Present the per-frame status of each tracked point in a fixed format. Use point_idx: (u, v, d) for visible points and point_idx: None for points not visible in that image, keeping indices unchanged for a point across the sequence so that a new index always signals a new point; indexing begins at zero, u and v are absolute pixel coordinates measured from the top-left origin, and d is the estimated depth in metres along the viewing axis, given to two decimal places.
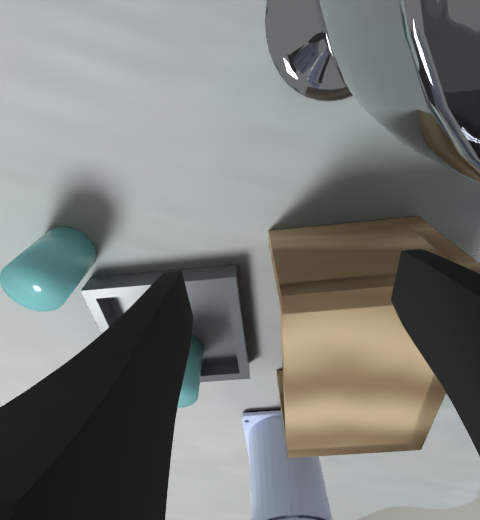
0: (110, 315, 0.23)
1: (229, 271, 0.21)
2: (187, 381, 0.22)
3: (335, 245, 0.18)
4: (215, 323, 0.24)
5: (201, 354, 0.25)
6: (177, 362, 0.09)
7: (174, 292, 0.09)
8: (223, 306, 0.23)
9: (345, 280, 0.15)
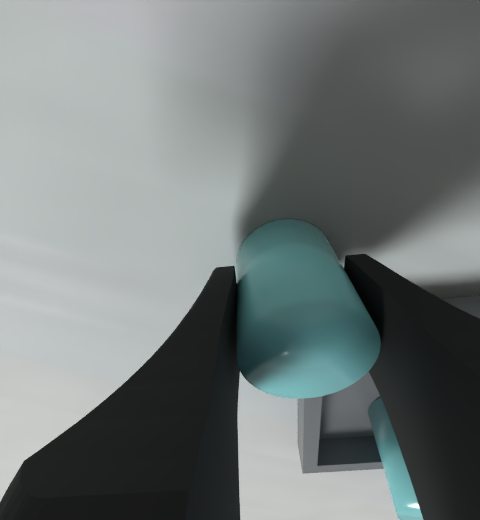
0: None
1: None
2: None
3: None
4: None
5: None
6: (236, 357, 0.09)
7: (233, 287, 0.09)
8: None
9: None
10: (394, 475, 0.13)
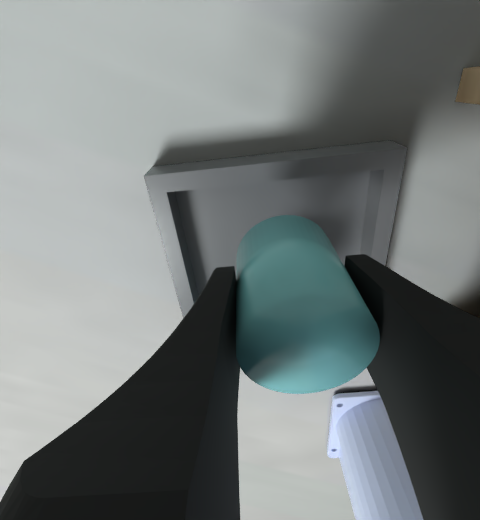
0: (180, 231, 0.15)
1: (387, 145, 0.13)
2: None
3: None
4: None
5: None
6: (236, 357, 0.09)
7: (233, 287, 0.09)
8: (351, 220, 0.15)
9: None
10: None
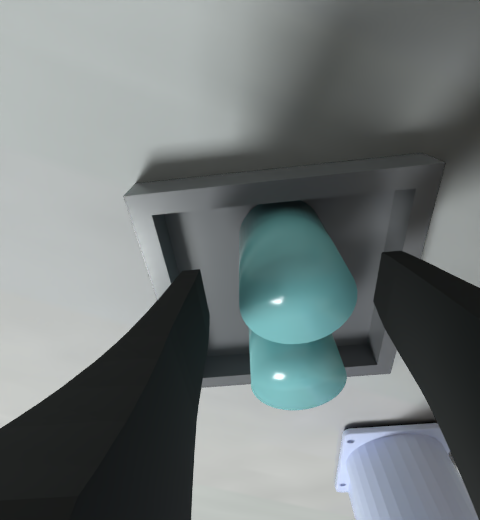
0: (170, 258, 0.13)
1: (419, 158, 0.11)
2: (345, 373, 0.11)
3: None
4: None
5: None
6: (198, 360, 0.09)
7: (195, 290, 0.09)
8: (371, 243, 0.13)
9: None
10: None
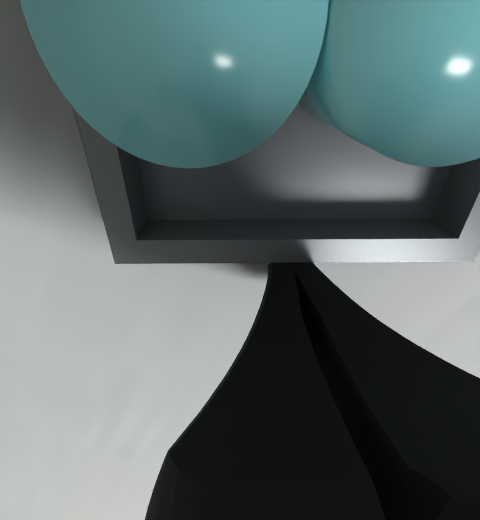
0: (218, 228, 0.09)
1: None
2: None
3: None
4: None
5: None
6: None
7: None
8: None
9: None
10: (321, 99, 0.05)
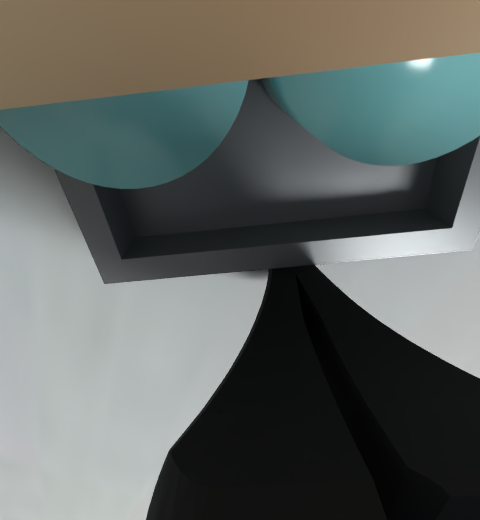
0: (202, 239, 0.09)
1: None
2: None
3: None
4: None
5: None
6: None
7: None
8: None
9: None
10: (280, 96, 0.05)
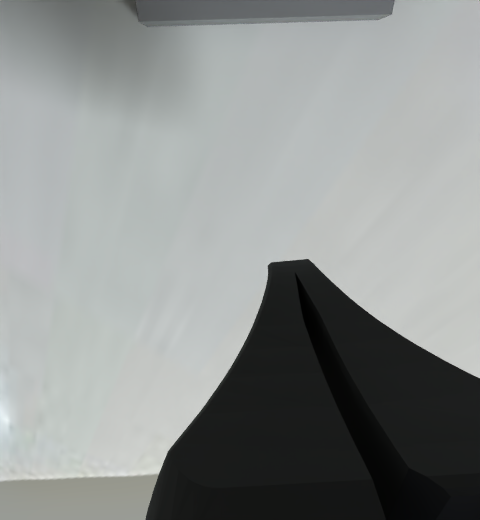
0: None
1: None
2: None
3: None
4: None
5: None
6: None
7: None
8: None
9: None
10: None
